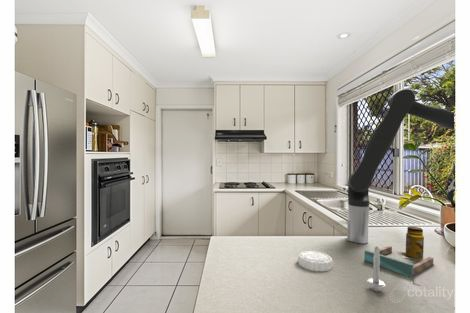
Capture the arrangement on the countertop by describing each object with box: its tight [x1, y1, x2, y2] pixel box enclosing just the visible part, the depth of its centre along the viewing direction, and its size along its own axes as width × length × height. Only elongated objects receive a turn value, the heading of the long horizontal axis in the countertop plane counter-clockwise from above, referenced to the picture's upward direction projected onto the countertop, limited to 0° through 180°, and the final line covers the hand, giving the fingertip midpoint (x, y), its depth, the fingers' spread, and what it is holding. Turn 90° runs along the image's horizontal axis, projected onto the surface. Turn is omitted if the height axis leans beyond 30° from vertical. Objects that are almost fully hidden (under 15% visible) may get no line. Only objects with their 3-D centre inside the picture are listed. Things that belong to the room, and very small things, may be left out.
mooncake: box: [297, 250, 333, 272], centre depth 97 cm, size 12×12×4 cm
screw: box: [366, 246, 386, 292], centre depth 79 cm, size 13×5×5 cm
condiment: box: [397, 226, 425, 261], centre depth 108 cm, size 7×8×12 cm
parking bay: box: [363, 245, 434, 278], centre depth 101 cm, size 20×16×4 cm
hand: (456, 201), depth 113 cm, fingers open, 8 cm apart
